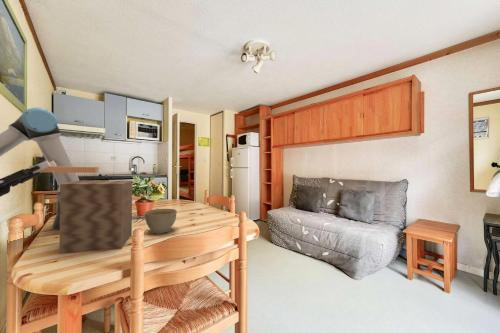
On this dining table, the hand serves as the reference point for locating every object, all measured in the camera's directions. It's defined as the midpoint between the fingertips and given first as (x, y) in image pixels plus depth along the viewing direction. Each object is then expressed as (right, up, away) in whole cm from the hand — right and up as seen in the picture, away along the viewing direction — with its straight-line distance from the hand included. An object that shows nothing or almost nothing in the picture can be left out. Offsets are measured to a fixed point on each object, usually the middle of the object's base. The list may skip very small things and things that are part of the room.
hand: (51, 163), depth 95 cm
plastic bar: (+5, -4, +2) cm, 7 cm away
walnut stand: (+20, -36, +3) cm, 41 cm away
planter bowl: (+40, -37, +21) cm, 58 cm away
